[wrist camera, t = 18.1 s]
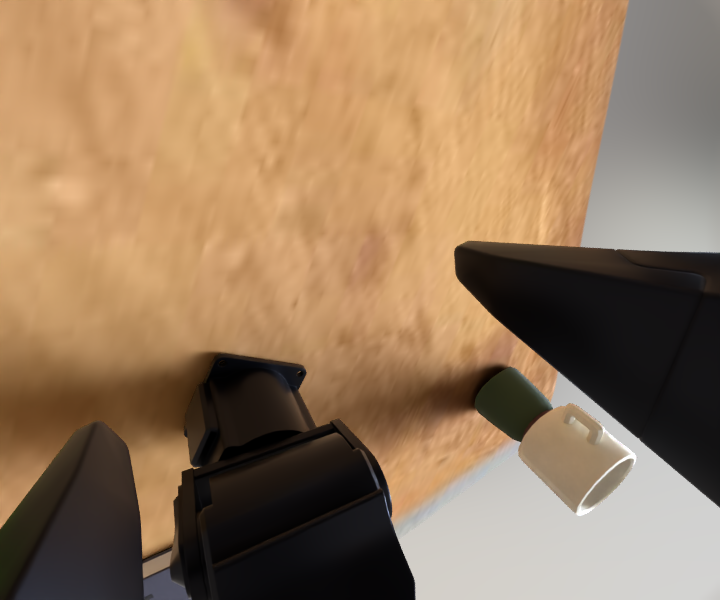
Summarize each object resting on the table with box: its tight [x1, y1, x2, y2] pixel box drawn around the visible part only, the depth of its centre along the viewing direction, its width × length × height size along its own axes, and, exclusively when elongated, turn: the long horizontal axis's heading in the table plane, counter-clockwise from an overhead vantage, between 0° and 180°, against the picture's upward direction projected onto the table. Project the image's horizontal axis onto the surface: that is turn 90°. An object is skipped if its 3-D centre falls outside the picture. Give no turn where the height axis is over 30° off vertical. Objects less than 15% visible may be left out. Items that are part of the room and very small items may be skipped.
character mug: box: [475, 367, 636, 516], centre depth 35 cm, size 11×7×13 cm, turn 5°
